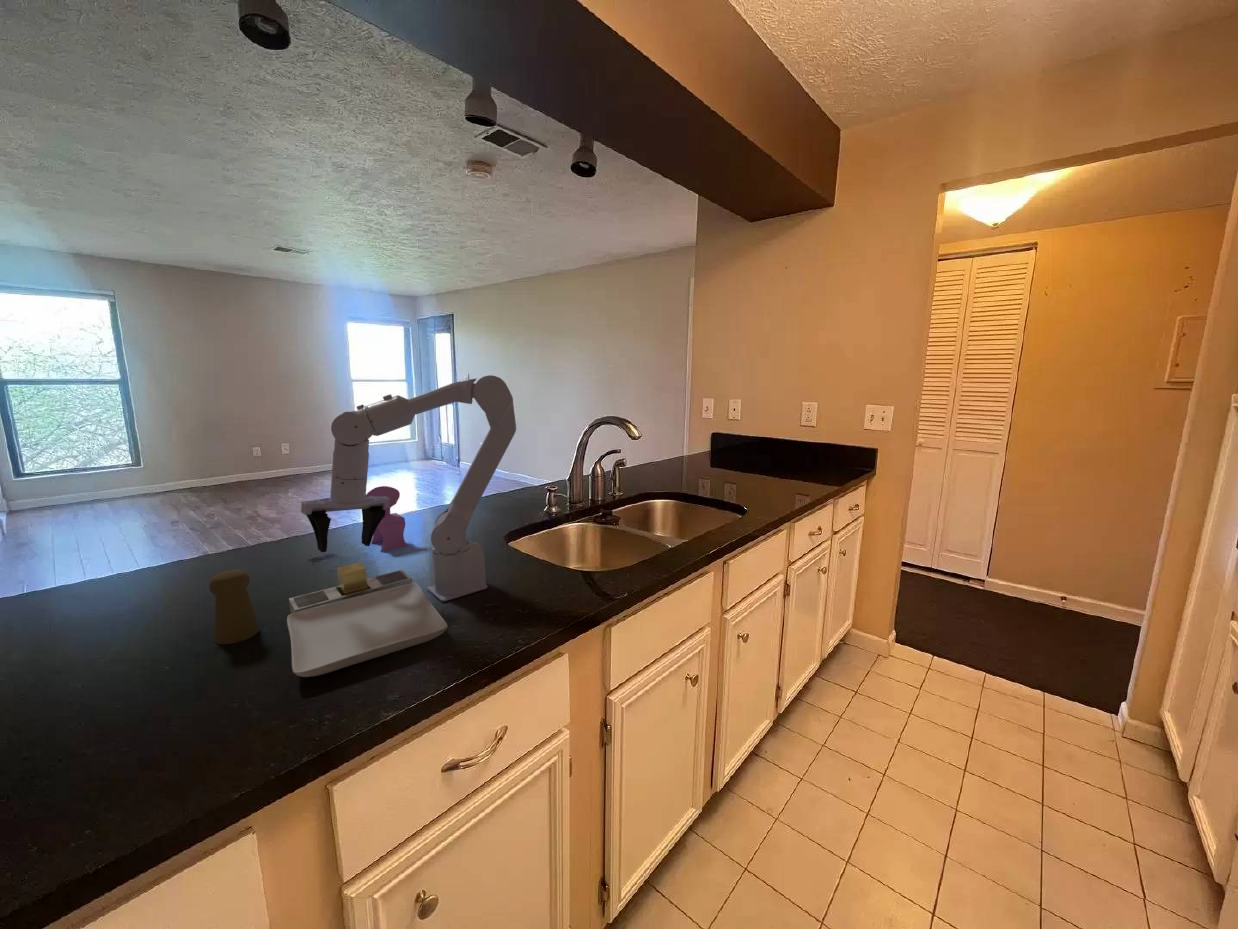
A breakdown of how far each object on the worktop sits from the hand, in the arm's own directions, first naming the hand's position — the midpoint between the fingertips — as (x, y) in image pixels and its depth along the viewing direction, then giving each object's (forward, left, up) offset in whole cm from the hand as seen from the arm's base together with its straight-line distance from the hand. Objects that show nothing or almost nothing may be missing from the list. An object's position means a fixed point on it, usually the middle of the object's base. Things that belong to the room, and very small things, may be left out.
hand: (344, 547), depth 91 cm
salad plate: (+1, +15, -12) cm, 19 cm away
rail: (-1, -1, -11) cm, 11 cm away
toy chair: (-16, -29, -11) cm, 35 cm away
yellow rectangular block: (-1, -1, -11) cm, 11 cm away
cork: (+17, 0, -11) cm, 21 cm away
